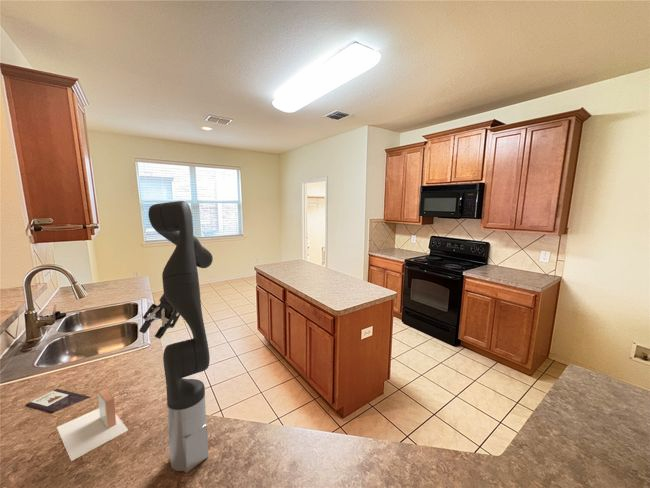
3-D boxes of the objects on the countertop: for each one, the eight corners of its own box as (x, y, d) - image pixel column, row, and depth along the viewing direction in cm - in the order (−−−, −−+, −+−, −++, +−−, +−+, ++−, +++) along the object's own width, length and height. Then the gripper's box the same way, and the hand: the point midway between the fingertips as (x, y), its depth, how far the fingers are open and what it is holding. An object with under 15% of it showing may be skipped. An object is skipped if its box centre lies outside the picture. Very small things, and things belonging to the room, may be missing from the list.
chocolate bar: (60, 413, 88) (25, 404, 93) (60, 416, 88) (25, 406, 93) (90, 396, 97) (57, 388, 102) (90, 399, 97) (57, 391, 102)
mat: (128, 432, 81) (128, 430, 81) (71, 463, 70) (71, 461, 70) (108, 406, 93) (108, 404, 92) (56, 429, 82) (56, 427, 82)
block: (116, 424, 83) (114, 397, 82) (107, 428, 81) (105, 401, 81) (108, 413, 88) (106, 388, 87) (99, 417, 86) (97, 392, 85)
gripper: (156, 286, 100) (127, 327, 91) (181, 292, 94) (154, 336, 86) (170, 294, 105) (145, 334, 97) (195, 300, 100) (170, 342, 91)
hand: (149, 335), depth 91 cm, fingers open, 8 cm apart
